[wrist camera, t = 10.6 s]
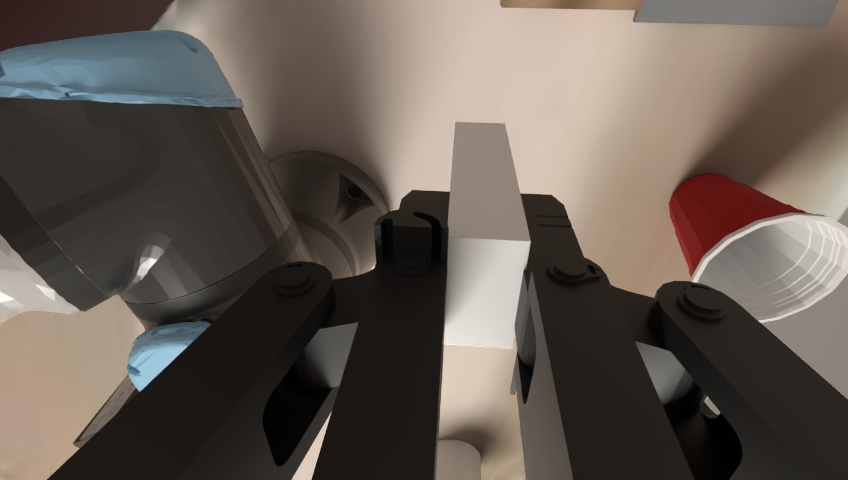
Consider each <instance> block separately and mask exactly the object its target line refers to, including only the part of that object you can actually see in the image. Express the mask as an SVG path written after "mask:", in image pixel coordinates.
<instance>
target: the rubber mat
mask: <svg viewBox="0 0 848 480" xmlns="http://www.w3.org/2000/svg"><path fill="white" fill-rule="evenodd" d="M837 1H838V0H643V3H642V7H641V10H636V12H635V16H634V20H633V22H650V23H697V24H743V25H790V26H826V24H827V22H828V20H829V18H830V16H831V14H832V12H833V9H834V7H835V5H836V3H837Z"/></svg>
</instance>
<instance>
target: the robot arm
mask: <svg viewBox="0 0 848 480" xmlns="http://www.w3.org/2000/svg"><path fill="white" fill-rule="evenodd" d="M243 107H244V106H243V103H242V101H241V100H240V99H238V98H236V96H235V94H234V92H233V90H232V88H231V87H230V85H229V83H228V81H227V79H226V78H225V76H224V74H223V72H222V70H221V69H220V67H219V65H218V63H217V61H216V60H215V58H214V56H213V54H212V52H211V51H210V50H209V49H208V47H207V46H206V45H205V44H204V43H202V42H201V41H200V40H198V39H197V38H195V37H193V36H191V35H189V34H186V33H184V32H180V31H173V30H154V31H140V32H127V33H118V34H108V35H99V36H90V37H83V38H75V39H68V40H61V41H54V42H48V43H41V44H35V45H29V46H23V47H18V48H12V49H7V50H5V51H4V52H0V323H2V322H4V321H6V320H8V319H10V318H12V317H14V316H16V315H17V314H19V313H21V312H26V311H46V312H56V313H66V314H75V315H79V314H81V313H83V312H85V311H87V310H89V309H91V308H92V307H94V306H96V305H98V304H100V303H101V302H103V301H105V300H107V299H109V298H110V297H112V296H114V295H117V294H119V295H120V297H121V299H123V300H124V302H125V303H126V304H127V305H128V307H129V308H130V309H131V310H132V312H133V313H134V314H135V316H136V317H137V318H138V319H139V320H140V322H141V323H142V324H143V326H144V328H145V332H144V333H143V334H141V335H139V336H138V337H137V338H136V340H135V341H134V342H133V344H132V350H131V352H130V353H129V356H128V362H129V363H128V366H127V371H128V375H129V377H130V379H131V381H132V383H133V384H134V385H135V387H136V388H137V389H138V390H139V391H140V392H139V393H138V394H137V395H136V396H135V397H134V398H133V399H132V400H131V401H130V402H128V403H127V404H126V405H125V406H124V407H123V408H122V409H121V410H120V411H119V412H118V413H117V414H116V415H115V416H114V417H113V418H112V419H110V420H109V421H108V422H107V423H106V424H105V425H104V426H103V427H102V428H101V429H100V430H99V431H98V432H97V433H96V434H95V435H94V436H93V437H91V438H90V439H89V440H88V441H87V442H86V443H85V444H84V445H83V446H82V447H81V448H80V449H79V450H78V451H77V452H76V453H75V454H74V455H72V456H71V457H70V458H69V459H68V460H67V461H66V462H65V463H64V464H63V465H62V466H61V467H60V468H59V469H58V470H57V471H56V472H55V473H53V474H52V475H51V476H50V477H49V478H48V479H47V480H291V479H292V478H293V476H294V474H295V473H296V471H297V469H298V467H299V466H300V464H301V462H302V461H303V459H304V457H305V455H306V454H307V452H308V450H309V449H310V447H311V445H312V444H313V442H314V440H315V438H316V437H317V435H318V433H319V432H320V430H321V428H322V426H323V425H324V423H325V421H326V420H327V418H328V416H329V415H330V413H331V411H332V413H331V416H330V419H329V423H328V426H327V430H326V433H325V436H324V440H323V443H322V446H321V450H320V453H319V456H318V460H317V463H316V467H315V470H314V473H313V477H312V480H436V469H437V452H438V435H439V419H440V402H441V385H442V368H443V347H444V344H446V345H461V346H475V347H490V348H504V349H513V344H514V338H515V334H516V342H517V355H516V361H515V366H514V372H513V378H512V383H511V390H510V394H515V393H516V390H517V399H518V408H519V418H520V427H521V436H522V445H523V454H524V464H525V473H526V480H848V400H847V399H846V398H845V397H844V396H843V395H842V394H841V393H840V392H838V391H837V390H836V389H835V388H834V387H833V386H832V385H830V384H829V383H828V382H827V381H826V380H825V379H824V378H822V377H821V376H820V375H819V374H818V373H817V372H816V371H815V370H813V369H812V368H811V367H810V366H809V365H808V364H807V363H805V362H804V361H803V360H802V359H801V358H800V357H799V356H797V355H796V354H795V353H794V352H793V351H792V350H791V349H790V348H788V347H787V346H786V345H785V344H784V343H783V342H782V341H780V340H779V339H778V338H777V337H776V336H775V335H774V334H772V333H771V332H770V331H769V330H768V329H767V328H766V327H764V326H763V325H762V324H761V323H760V322H759V321H758V320H757V319H755V318H754V317H753V316H752V315H751V314H750V313H749V312H747V311H746V310H745V309H744V308H743V307H742V306H741V305H740V304H738V303H737V302H736V301H734V300H733V299H732V298H730V297H729V296H727V295H726V294H724V293H723V292H721V291H718V290H716V289H714V288H711V287H710V286H707V285H704V284H699V283H695V282H690V281H673V282H669V283H665V284H663V285H662V286H661V287H660V288H659V289H658V290H657V292H656V295H655V297H654V298H652V297H648V296H644V295H640V294H636V293H633V292H629V291H625V290H622V289H619V288H616V287H614V286H612V285H610V282H609V280H608V278H607V275H606V274H605V273H604V271H603V270H602V269H601V267H600V266H598V265H597V264H595V263H594V262H592V261H591V260H589V259H587V258H584V256H583V254H582V251H581V248H580V246H579V243H578V241H577V238H576V235H575V233H574V230H573V228H572V225H571V223H570V220H569V219H568V215H567V212H566V210H565V207H564V205H563V204H562V203H561V202H559V201H558V200H557V199H556V198H555V197H553V196H552V195H541V194H520V190H519V186H518V181H517V177H516V172H515V168H514V163H513V159H512V154H511V149H510V145H509V140H508V136H507V131H506V127H505V124H500V123H471V122H455V135H454V148H453V161H452V174H451V186H450V192H442V191H420V190H412V191H411V192H410V193H408V194H407V195H406V196H405V197H404V198H402V200H401V204H400V207H399V210H395V211H391V212H388V208H387V205H386V202H385V200H384V198H383V196H382V194H381V192H380V191H379V189H378V188H377V186H376V185H375V184H374V182H373V181H372V180H371V179H370V178H369V177H368V176H367V175H366V174H365V173H364V172H362V171H361V170H360V169H358V168H357V167H356V166H354V165H352V164H351V163H349V162H347V161H345V160H343V159H341V158H339V157H336V156H333V155H330V154H326V153H320V152H311V151H304V152H295V153H290V154H287V155H284V156H281V157H279V158H277V159H275V160H274V161H272V162H271V163H269V164H268V162H267V160H266V158H265V156H264V154H263V152H262V150H261V148H260V146H259V144H258V142H257V139H256V137H255V135H254V133H253V131H252V129H251V127H250V125H249V122H248V120H247V118H246V116H245V114H244V112H243V109H242V108H243ZM374 267H375V268H374ZM373 268H374V269H373ZM707 396H708V397H709V398H710V400H711V401H712V402H713V404H714V405H715V406H716V407H717V408H718V410H719V411H720V412H721V413H720V414H719V415H717V414H715V413H714V412H713V411H712V410H711V409H710V408H709V407H708V406H707V405H706V404H705V402H704V401H705V399H706V398H707Z"/></svg>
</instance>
